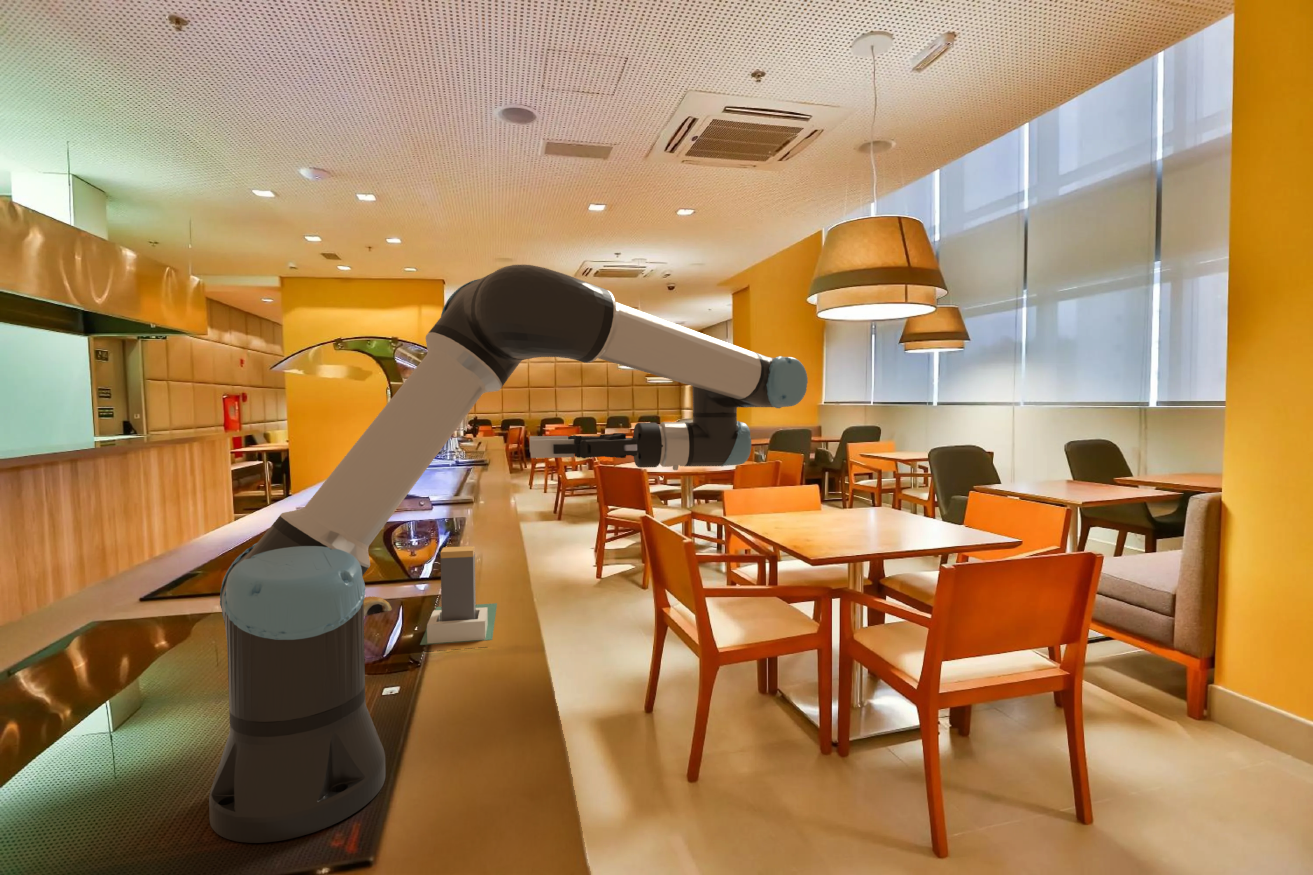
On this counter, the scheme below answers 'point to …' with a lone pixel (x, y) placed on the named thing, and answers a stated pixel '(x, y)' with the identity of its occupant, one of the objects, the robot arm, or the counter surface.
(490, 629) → the board
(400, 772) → the counter surface
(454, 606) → the plug
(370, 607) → the pastry
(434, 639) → the header
